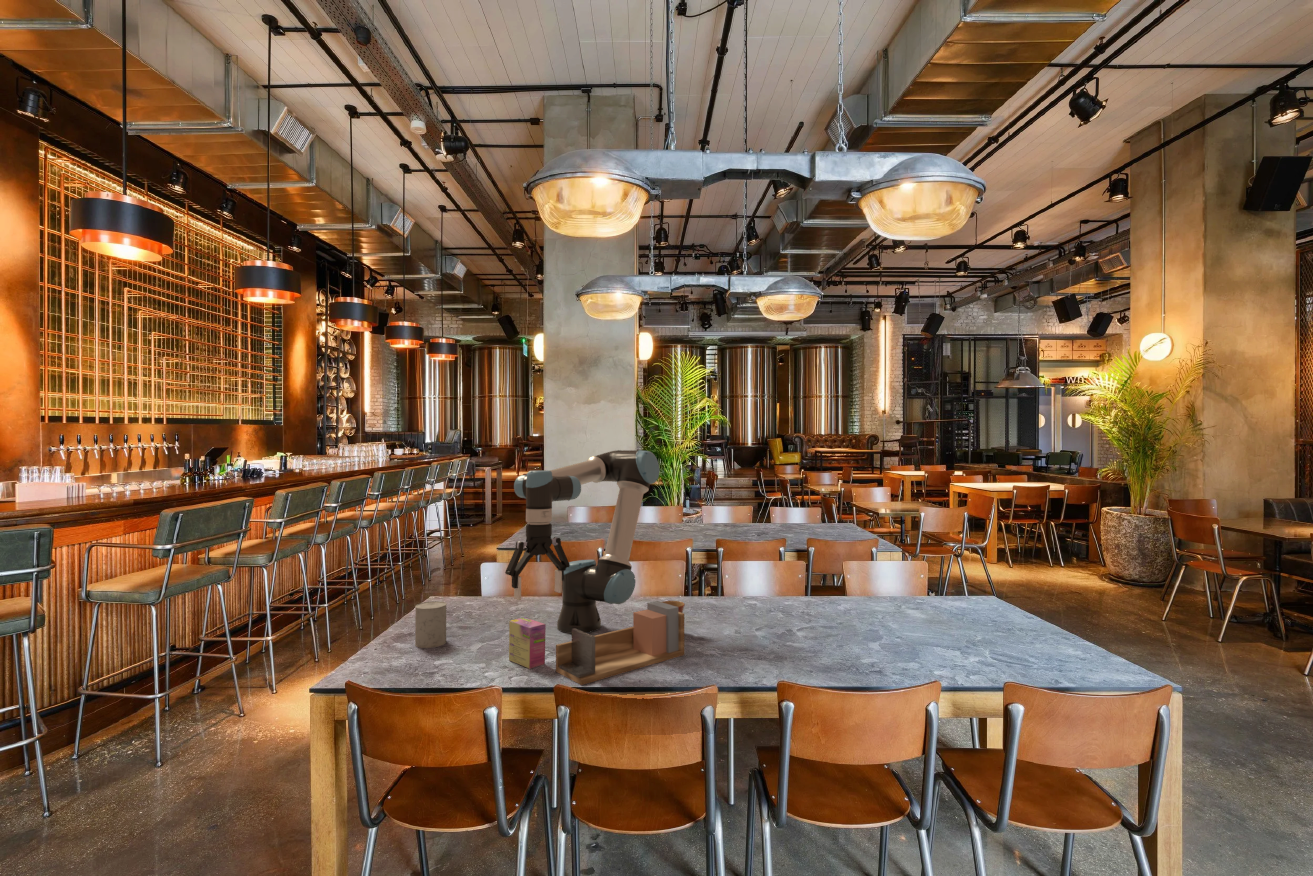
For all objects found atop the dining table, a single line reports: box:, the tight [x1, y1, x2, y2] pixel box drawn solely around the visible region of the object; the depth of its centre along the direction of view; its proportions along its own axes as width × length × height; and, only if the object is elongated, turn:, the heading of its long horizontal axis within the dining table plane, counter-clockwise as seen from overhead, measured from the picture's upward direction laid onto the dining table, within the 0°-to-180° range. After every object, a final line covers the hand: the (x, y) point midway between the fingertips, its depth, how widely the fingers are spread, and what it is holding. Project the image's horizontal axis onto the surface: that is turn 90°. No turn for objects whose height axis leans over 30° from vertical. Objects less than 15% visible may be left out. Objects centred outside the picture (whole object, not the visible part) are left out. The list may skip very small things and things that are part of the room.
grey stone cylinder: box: [414, 600, 448, 649], centre depth 200 cm, size 10×10×12 cm
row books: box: [632, 600, 679, 656], centre depth 189 cm, size 10×10×13 cm
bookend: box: [559, 628, 595, 678], centre depth 171 cm, size 10×5×10 cm, turn 40°
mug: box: [662, 600, 686, 613], centre depth 208 cm, size 12×9×10 cm
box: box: [508, 617, 547, 670], centre depth 183 cm, size 10×6×12 cm, turn 47°
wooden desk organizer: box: [555, 612, 685, 686], centre depth 182 cm, size 13×37×12 cm, turn 130°
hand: (538, 595), depth 183 cm, fingers open, 13 cm apart
